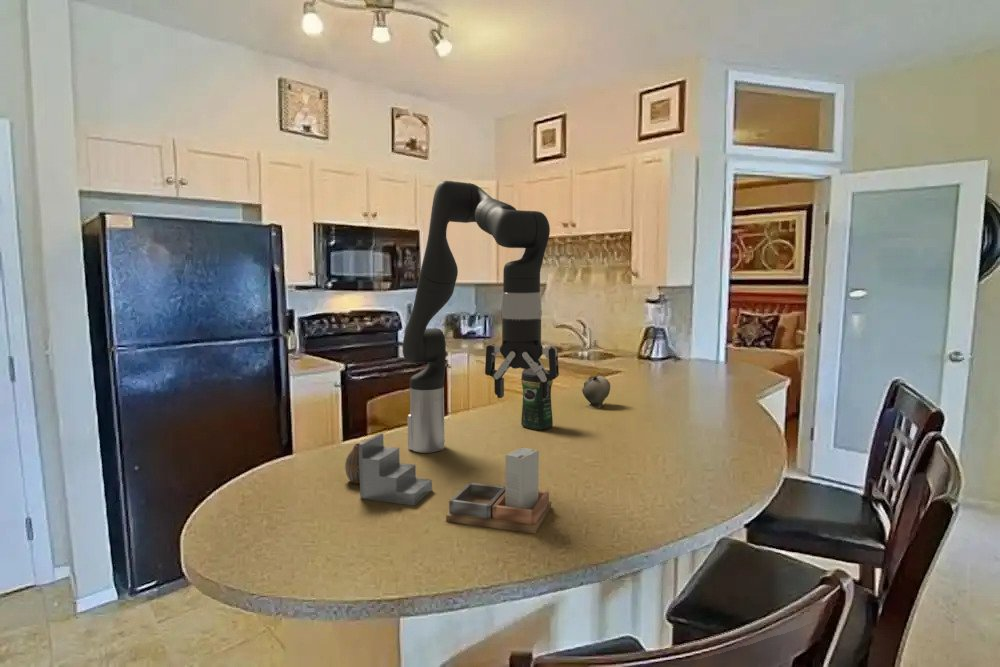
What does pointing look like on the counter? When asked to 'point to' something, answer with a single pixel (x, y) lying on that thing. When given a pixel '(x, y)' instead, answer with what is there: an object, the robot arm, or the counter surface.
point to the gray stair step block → (388, 475)
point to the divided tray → (495, 509)
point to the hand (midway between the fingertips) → (521, 398)
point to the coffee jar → (535, 402)
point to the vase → (353, 465)
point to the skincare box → (522, 478)
